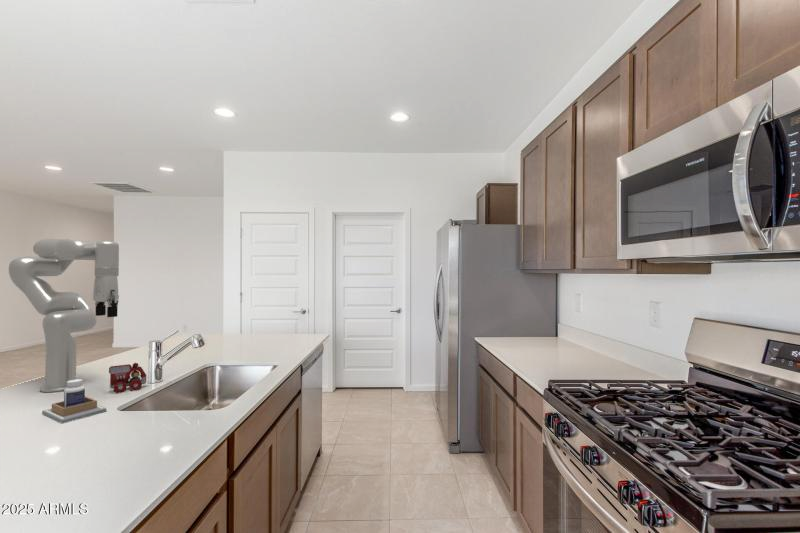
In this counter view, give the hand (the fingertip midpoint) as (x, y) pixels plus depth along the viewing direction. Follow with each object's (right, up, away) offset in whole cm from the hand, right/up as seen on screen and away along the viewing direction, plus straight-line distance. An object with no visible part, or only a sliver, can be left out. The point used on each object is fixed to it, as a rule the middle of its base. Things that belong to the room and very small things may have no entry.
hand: (106, 316), depth 150 cm
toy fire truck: (+5, -31, +5) cm, 31 cm away
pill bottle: (+5, -29, -21) cm, 36 cm away
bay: (+5, -30, -21) cm, 37 cm away
